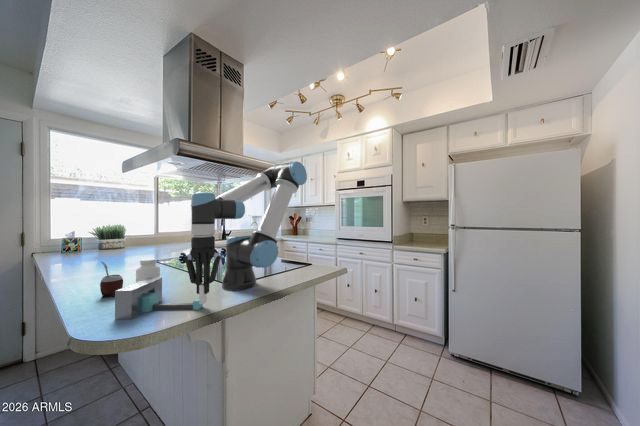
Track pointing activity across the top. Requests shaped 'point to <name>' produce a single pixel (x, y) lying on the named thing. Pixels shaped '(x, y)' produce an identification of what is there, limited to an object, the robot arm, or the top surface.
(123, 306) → the grey bridge block
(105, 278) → the mate gourd
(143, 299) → the teal and grey bar
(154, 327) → the top surface
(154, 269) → the pill bottle
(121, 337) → the top surface
